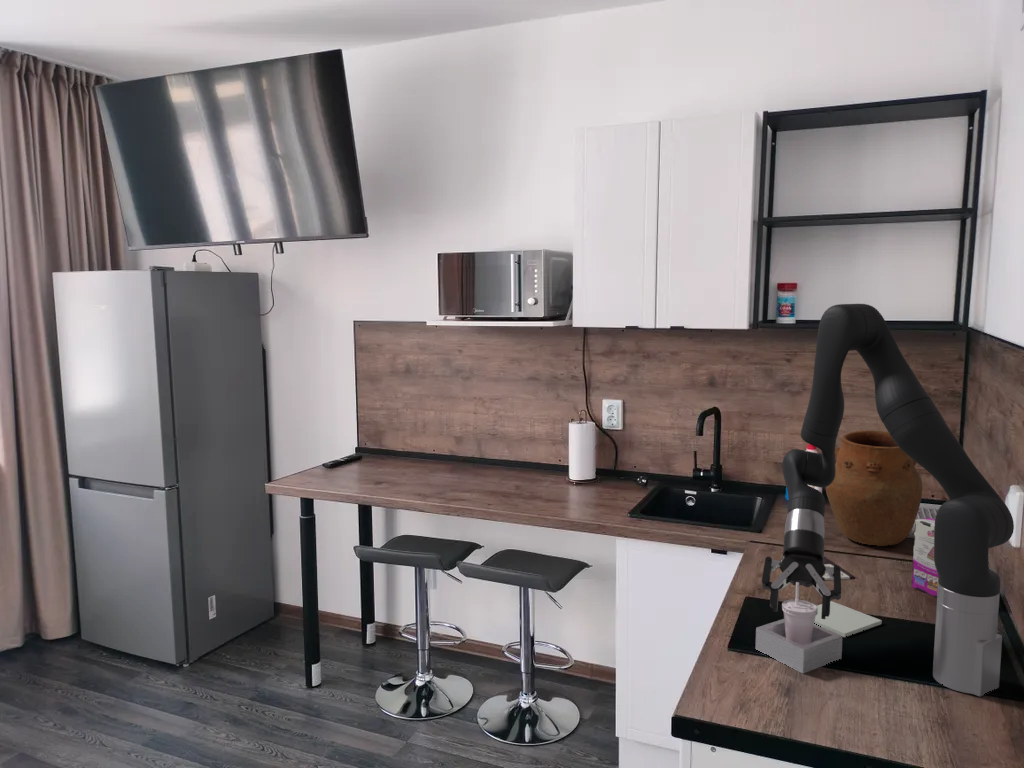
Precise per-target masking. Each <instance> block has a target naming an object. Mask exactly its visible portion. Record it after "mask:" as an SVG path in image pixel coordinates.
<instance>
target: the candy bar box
mask: <svg viewBox="0 0 1024 768" xmlns="http://www.w3.org/2000/svg"><path fill="white" fill-rule="evenodd" d="M934 526H935V518H931V517H925V518H919V519H918V518H917V519H915V522H914V533H913V534H914V535H913V551H912V552H913V553H912V554H913V555H912V571H911V572H912V573H911V588H913V589H915V590H917V591H920V592H923V593H924V594H928V595H929V596H932V597H934V598H937V593H938V572H937V570H936V567H935V563H934Z"/></svg>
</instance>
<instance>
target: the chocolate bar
mask: <svg viewBox="0 0 1024 768" xmlns="http://www.w3.org/2000/svg"><path fill="white" fill-rule="evenodd" d="M823 563H824V565H825V567H834V566H835V565H837V564H836V563H835V562H834V561H832V560H830V559H829V558H827V557H826V556H824V558H823ZM840 568H841V580H855V579H856V576H855V575H853V574H852V573H850V572H849V571H847V570H845V569H844V568H843V567H841V566H840ZM821 579H822V580H823V581H834V579H831V578H830V577H829V575H828V574H827V573H825V574H824V575H823V576H822V577H821Z"/></svg>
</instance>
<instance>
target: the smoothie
mask: <svg viewBox="0 0 1024 768" xmlns="http://www.w3.org/2000/svg"><path fill="white" fill-rule="evenodd" d="M799 597H800V585H799V582H796V585H795V598H794V599H793V598H792V599H787V600H784V601H782V603H781V610H782V611H783V619H784V621H785V632H786V638H787V639H789V640H791V641H794V642H796V643H798V644H800V645H802V646H803V645H806V644H809V643H811V638H812V632H813V627H814V621H815V616H816V615H817V614H818V611H817V609H818V608H817V605H816V604H815V603H813V602H810V601H807V600H803V599H800V598H799Z"/></svg>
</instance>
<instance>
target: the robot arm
mask: <svg viewBox="0 0 1024 768" xmlns="http://www.w3.org/2000/svg"><path fill="white" fill-rule="evenodd" d="M817 330H818V331H817V336H816V347H815V356H814V366H813V378H812V386H811V391H810V397H809V401H808V405H807V408H806V412H805V416H804V419H803V422H802V427H801V430H800V438H801V439H802V441H804V442H805V443H807V444H808V445H810V446H812V447H816V448H817V449H819V450H820V451H821V452H820V453H818V452H813V451H810V450H809V451H808V450H803V449H799V448H798V449H797V448H793V449H791V450H789V451H787V453H785V455H784V457H783V460H782V463H781V465H782V466H781V467H782V475H783V478H784V483H785V484H786V489H787V490H786V491H787V497H788V502H787V516H786V521H785V525H784V534H783V535H784V537H783V549H782V557H781V559H780V560H777V559H772V557H771V556H766V557H765V560H764V566H763V572H762V577H761V587H762V589H763V590H765V591H769V592H770V595H769V596H770V597H769V598H770V599H769V606H770V609H772V611H773V612H775V613H777V612H778V610H779V609H778V606H779V592H780V591H782V590H783V589H784V588H786V587H787V586H788V585H789V584H792V585H793V586H796V582H799V586H803V587H806V588H811V587H812V586H813V588H814V589H815V590H816V591H817V593H818V594H819V595H820V596H821V597H822V598H821V599H822V600H821V604H822V617H821V619H825V617H826V616H827V617H829V615H830V601H832V600H836V601H837V600H841V598H842V579H841V568H842V567H841V566H840V565H838V564H836V565H835V566H834V567H825V565H824V563H823V558H824V557H825V555H824V554H825V539H826V537H825V533H826V527H825V525H826V524H825V509H826V508H825V506H826V499H825V498H826V497H825V495H824V494H823V493H822V492H821V491H820V490H819V489H816V488H814V487H817V488H822V489H823V488H826V487H827V486H829V485H830V484H831V483H832V482H833V480H834V478H835V471H836V469H835V464H836V457H835V449H836V444H837V438H838V435H839V431H840V428H841V425H842V420H843V417H844V414H845V398H844V397H845V396H844V391H843V385H842V371H843V367H844V363H845V362H846V361H845V360H846V358H847V355H848V354H849V352H850V351H856V352H857V353H858V354H859V355H860V357H861V359H863V361H864V362H865V364H866V366H867V368H868V370H869V372H870V373H871V375H872V378H873V381H874V382H873V383H874V399H875V406H876V411H877V414H878V417H879V419H880V420H881V422H882V424H883V425H884V427H885V428H886V430H887V432H889V434H890V435H891V437H892V439H893V440H894V442H895V443H896V444H897V445H898V446H899V448H900V449H901V450H903V451H904V452H905V453H906V454H907V455H908V456H909V457H911V458H912V459H913V460H914V461H915V462H917V463H916V464H918V465H919V466H921V467H922V468H923V469H924V470H925V471H927V472H928V473H929V474H930V475H931V476H933V478H934V479H935V480H936V481H937V482H938V483H939V485H940V486H941V488H942V489H943V490H944V492H945V494H946V496H947V497H948V499H949V500H947V501H944V502H943V503H942V504H941V505H940V506H939V508H938V510H937V512H936V515H935V518H934V519H935V526H934V563H935V567H936V570H937V572H938V593H937V597H936V609H935V610H936V611H935V612H936V613H935V625H934V626H935V628H934V629H935V630H934V647H933V663H932V666H933V667H932V677H933V679H934V680H935V681H936V682H938V683H939V684H940V685H942V684H943V685H942V686H943V687H946V688H948V689H950V690H953V691H957V692H959V693H960V692H961V693H963V694H964V693H965V694H971V695H975V696H977V697H983V696H985V695H986V694H985V693H987V692H989V691H991V692H993V691H995V690H997V689H999V688H1000V678H1001V677H1000V676H1001V675H1000V674H1001V661H1002V660H1001V658H1002V647H1003V645H1002V644H1003V636H1002V634H999V633H998V623H999V608H1000V596H1001V595H1000V592H1001V578H1000V576H999V574H998V573H996V572H995V571H993V570H992V569H990V567H989V549H991V548H996V547H998V546H1002V545H1004V544H1005V543H1007V542H1008V541H1010V539H1011V538H1012V536H1013V534H1014V529H1015V524H1014V523H1015V522H1014V519H1013V515H1012V513H1011V511H1010V508H1008V505H1006V503H1005V501H1004V500H1003V499H1002V498H1001V496H1000V495H999V494H998V493H997V491H996V490H995V489H994V487H992V485H991V484H990V483H989V481H988V480H987V479H986V478H985V477H984V475H983V474H982V473H981V472H980V470H979V469H978V468H977V467H976V465H975V464H974V463H973V461H972V460H971V458H970V457H969V456H968V454H967V452H966V451H965V449H964V448H963V446H962V445H961V443H960V442H959V440H958V439H957V437H956V436H955V434H954V433H953V432H952V430H951V428H950V427H949V426H948V423H947V422H946V420H945V419H944V417H943V415H942V413H941V411H939V409H938V407H937V406H936V404H935V403H934V402H933V400H932V397H930V394H928V393H927V391H926V389H924V387H923V385H922V384H921V383H920V380H919V379H918V377H917V375H916V374H915V373H914V371H913V369H912V368H911V366H910V365H909V363H908V362H907V360H906V359H905V357H904V355H903V354H902V352H901V350H900V347H899V346H898V344H897V342H896V340H895V337H894V335H893V334H892V332H891V330H890V328H889V325H888V323H887V322H886V320H885V318H884V316H883V315H882V314H881V313H880V312H879V310H878V309H877V308H875V306H873V305H870V304H867V303H839V304H835V305H832V306H830V307H828V308H827V309H826V310H825V311H824V312H823V314H822V316H821V318H820V320H819V325H818V329H817ZM840 567H841V568H840ZM777 568H779V570H780V571H781V572H782V573H780V575H778V577H777V579H775V580H774V581H773V582H772V581H771V574H772V572H775V571H776V569H777ZM825 573H827V574H828V575H829V577H830V578H831V579H834V580H833V589H831V590H830V589H829V588H828V587H827V585H826V584H825V580H822V579H821V577H822V576H823V575H824V574H825ZM994 689H995V690H994ZM992 690H993V691H992ZM989 693H990V692H989ZM984 694H985V695H984ZM987 694H988V693H987Z"/></svg>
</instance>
